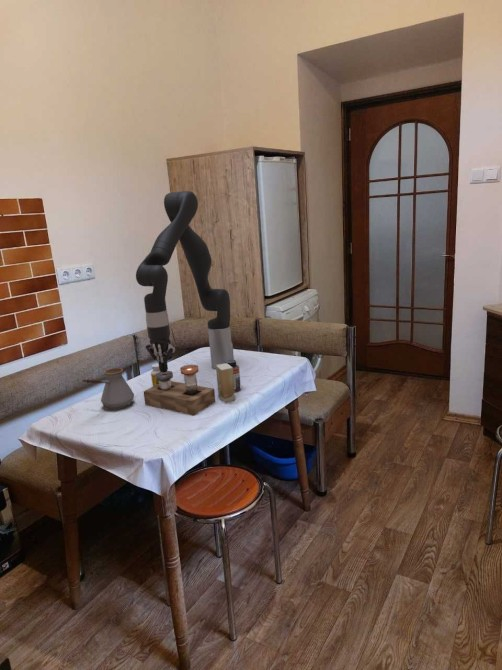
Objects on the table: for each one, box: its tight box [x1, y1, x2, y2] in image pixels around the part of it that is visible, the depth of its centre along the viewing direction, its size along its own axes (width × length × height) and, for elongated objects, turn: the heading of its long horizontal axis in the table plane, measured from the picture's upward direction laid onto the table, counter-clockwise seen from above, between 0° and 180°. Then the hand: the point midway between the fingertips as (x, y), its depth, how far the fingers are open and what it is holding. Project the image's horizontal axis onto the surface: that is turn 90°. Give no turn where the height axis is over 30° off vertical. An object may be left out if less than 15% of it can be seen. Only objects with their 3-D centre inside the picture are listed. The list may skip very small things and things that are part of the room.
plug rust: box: [179, 364, 200, 396], centre depth 161 cm, size 6×6×10 cm
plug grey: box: [155, 370, 174, 391], centre depth 168 cm, size 6×6×10 cm
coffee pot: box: [79, 367, 135, 410], centre depth 163 cm, size 21×12×15 cm, turn 158°
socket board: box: [142, 380, 216, 416], centre depth 166 cm, size 12×22×5 cm, turn 57°
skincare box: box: [215, 363, 236, 403], centre depth 166 cm, size 6×4×12 cm
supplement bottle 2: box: [225, 358, 242, 393], centre depth 174 cm, size 6×6×11 cm
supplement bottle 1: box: [150, 362, 160, 387], centre depth 181 cm, size 5×5×10 cm
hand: (163, 371), depth 167 cm, fingers closed
